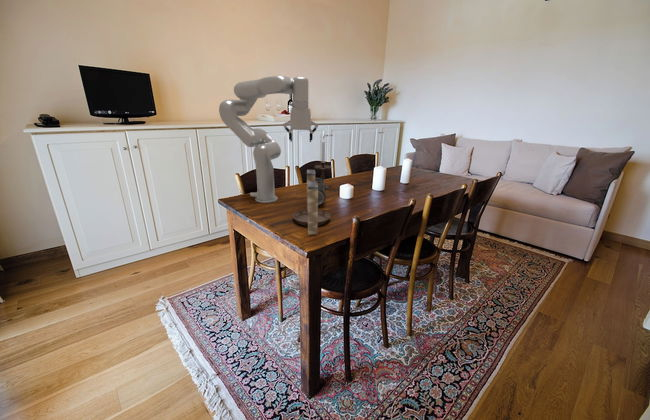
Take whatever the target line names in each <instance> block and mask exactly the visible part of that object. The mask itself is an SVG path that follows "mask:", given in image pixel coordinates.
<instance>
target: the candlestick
mask: <svg viewBox="0 0 650 420" xmlns="http://www.w3.org/2000/svg"><path fill="white" fill-rule="evenodd" d="M325 136H326V134H325V133H324V134H323V137H322V141H321V161H320V162H319V163H320V164H316V165H314V170H319V171H321V175H320V178H321V179H323V181H324V182H325V177H326V176H325V171H327V170H332V165H329V164H326V163H327V162H326V161H325V159H326V158H325V156H326V155H325V153H326V141H325V138H326V137H325ZM324 186H325V191H326V190H329V189H330V186H329V185H328V184H324Z"/></svg>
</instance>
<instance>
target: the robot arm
mask: <svg viewBox="0 0 650 420" xmlns="http://www.w3.org/2000/svg"><path fill="white" fill-rule="evenodd" d="M233 93H234V95H235V97H237V98H238V99H225V100H223V101H221V102H220V104H219V106H218V112H219V113H218V114H219V117H220V119H221V121H222V122H223V124H224V125H225V126H226V127H227V128H228V129H230V131H232V132H233V133H234V134H235V136H237V138H238V139H239V140H240V141H241V142H242V143H243V144H244V145H245V146H246V147H248V148H254V149H253V152H252V154H253V160H254V163H255V175H256V185H257V187H256V188H257V191H255V192H253V191H252V192H249V195H250V197H252V198H255V202H257V203H260V204H261V203H262V204H267V203H269V204H271V203H274V202H276V201H278V199H279V197H278V196H277V195H276V193H275V174H274V173H275V172H274V165H273V163H272V161H273V160H275V159H277V158H279V157H280V155H281V152H282V150H281V146H280V145H279V143H277V141H276V140H275V139H274V138H273V137H272V136H271V135H270V134H269V132H267V131H266V130H265V129H262V128H252V126H251V127H250V125H248V123H247V122H245V120H244V119H242V118H240V117H244V116H247V115H248V114H249V112H250V111H251V110H252V108H253V107H254V105H255V104H256V102H257V101H258V99H263V98H265V97H267V95H273V94H274V95H275V94H285V95H292V101H291V102H289V106H292V108H291V109H290V120H288V121H287V122H285V123H283V128H284V130H285V131H286V132H287V133H288V140H289V142H291V143H292V142H293V133H292V132H293V131H294V130H295V131H308V132H309V143H312V141H313V135H314V133H315V132H316V131H317V129H318V127H319V124H317V123H316V122H315V121H313V120H312V114H311V108H309V79H308V77H304V76H295V77H289V76H285V75H284V76H283V75H272V76H265V77H262V78H259V79H258V78H257V79H253V80H246V81H239V82H236V84H235V85H234V87H233ZM288 125H289V126H290V128H288ZM312 125H313V126H314V127H313V129H311V128H312Z"/></svg>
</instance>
